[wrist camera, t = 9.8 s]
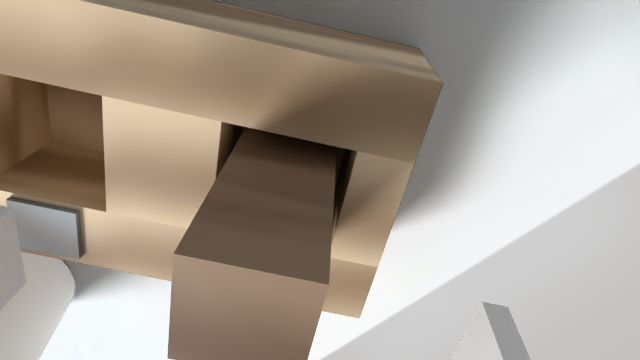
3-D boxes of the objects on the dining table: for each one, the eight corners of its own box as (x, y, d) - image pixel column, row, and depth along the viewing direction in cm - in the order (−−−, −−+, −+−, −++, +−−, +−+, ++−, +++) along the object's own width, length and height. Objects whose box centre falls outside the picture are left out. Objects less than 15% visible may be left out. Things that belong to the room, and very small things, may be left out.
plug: (259, 102, 21) (173, 253, 11) (338, 119, 21) (329, 284, 11) (249, 171, 23) (167, 358, 13) (322, 187, 23) (300, 383, 13)
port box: (-4, -49, 20) (-142, -48, 14) (418, 48, 21) (444, 85, 15) (28, 176, 25) (-62, 240, 20) (357, 244, 26) (359, 322, 21)
